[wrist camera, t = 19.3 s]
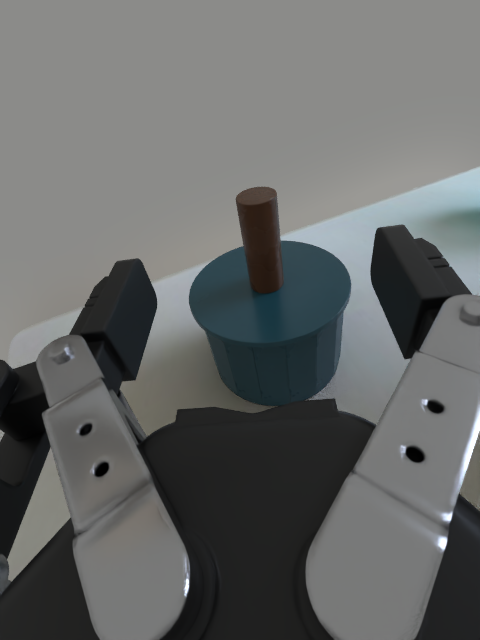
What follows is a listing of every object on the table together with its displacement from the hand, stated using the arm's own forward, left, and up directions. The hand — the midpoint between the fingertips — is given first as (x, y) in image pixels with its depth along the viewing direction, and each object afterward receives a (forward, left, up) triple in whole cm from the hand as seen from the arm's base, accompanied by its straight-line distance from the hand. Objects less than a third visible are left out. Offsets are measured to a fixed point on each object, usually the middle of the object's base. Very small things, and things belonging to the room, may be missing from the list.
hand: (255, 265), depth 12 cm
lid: (-4, -10, -10) cm, 15 cm away
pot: (-4, -10, -18) cm, 21 cm away
